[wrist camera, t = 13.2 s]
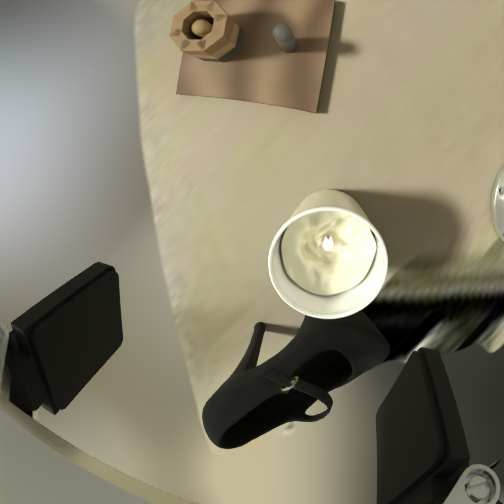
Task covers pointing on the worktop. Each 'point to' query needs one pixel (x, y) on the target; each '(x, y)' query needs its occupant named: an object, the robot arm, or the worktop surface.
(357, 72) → the worktop surface
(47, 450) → the robot arm
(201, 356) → the worktop surface
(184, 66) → the pin board
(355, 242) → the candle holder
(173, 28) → the sleeve
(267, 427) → the high-heeled shoe
